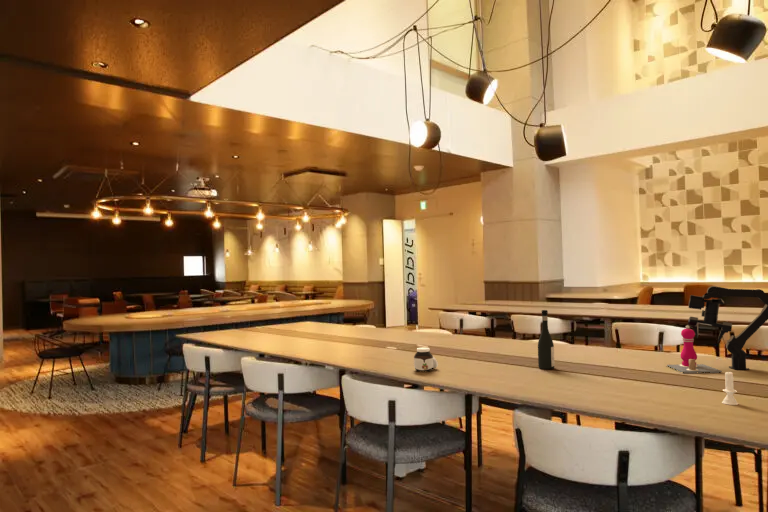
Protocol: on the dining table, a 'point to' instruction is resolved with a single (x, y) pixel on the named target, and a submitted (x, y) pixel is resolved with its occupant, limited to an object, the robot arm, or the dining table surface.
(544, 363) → the wine bottle
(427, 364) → the spread jar
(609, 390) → the dining table surface
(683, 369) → the board
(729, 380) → the candle
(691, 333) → the pepper mill
